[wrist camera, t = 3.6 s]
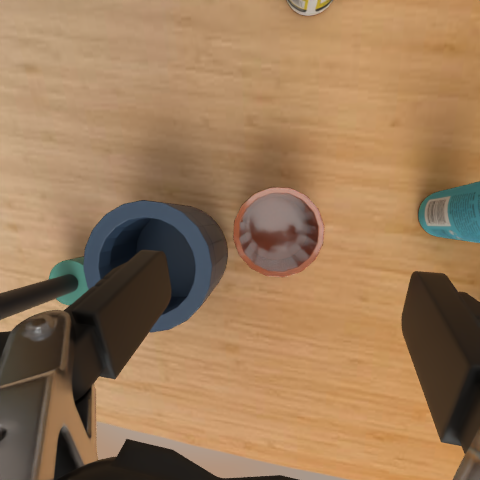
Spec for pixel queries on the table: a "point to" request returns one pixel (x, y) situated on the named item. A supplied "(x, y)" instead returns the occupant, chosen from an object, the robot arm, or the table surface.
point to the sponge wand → (47, 289)
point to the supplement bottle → (309, 6)
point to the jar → (162, 239)
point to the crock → (278, 232)
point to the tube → (453, 213)
